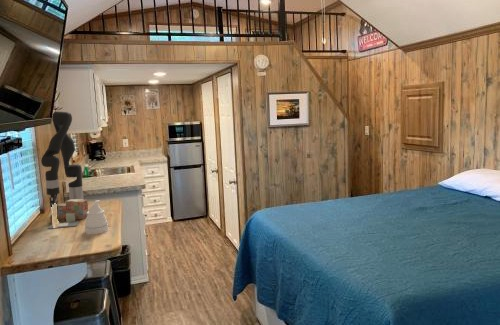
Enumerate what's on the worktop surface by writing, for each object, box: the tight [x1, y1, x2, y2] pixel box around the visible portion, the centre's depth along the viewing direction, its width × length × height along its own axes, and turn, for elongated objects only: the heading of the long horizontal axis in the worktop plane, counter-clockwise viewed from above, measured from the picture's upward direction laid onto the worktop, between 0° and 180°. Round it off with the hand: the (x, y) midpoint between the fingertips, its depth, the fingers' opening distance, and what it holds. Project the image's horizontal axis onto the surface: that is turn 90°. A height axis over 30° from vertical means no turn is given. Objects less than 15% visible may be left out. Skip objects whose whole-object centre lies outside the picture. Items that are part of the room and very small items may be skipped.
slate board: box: [48, 220, 79, 230], centre depth 247 cm, size 10×16×1 cm, turn 108°
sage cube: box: [65, 212, 76, 222], centre depth 257 cm, size 5×5×5 cm
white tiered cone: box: [84, 200, 109, 235], centre depth 234 cm, size 13×13×18 cm
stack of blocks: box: [57, 198, 89, 220], centre depth 265 cm, size 21×6×12 cm, turn 82°
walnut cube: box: [49, 214, 61, 224], centre depth 254 cm, size 5×5×5 cm
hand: (54, 211), depth 253 cm, fingers open, 8 cm apart
